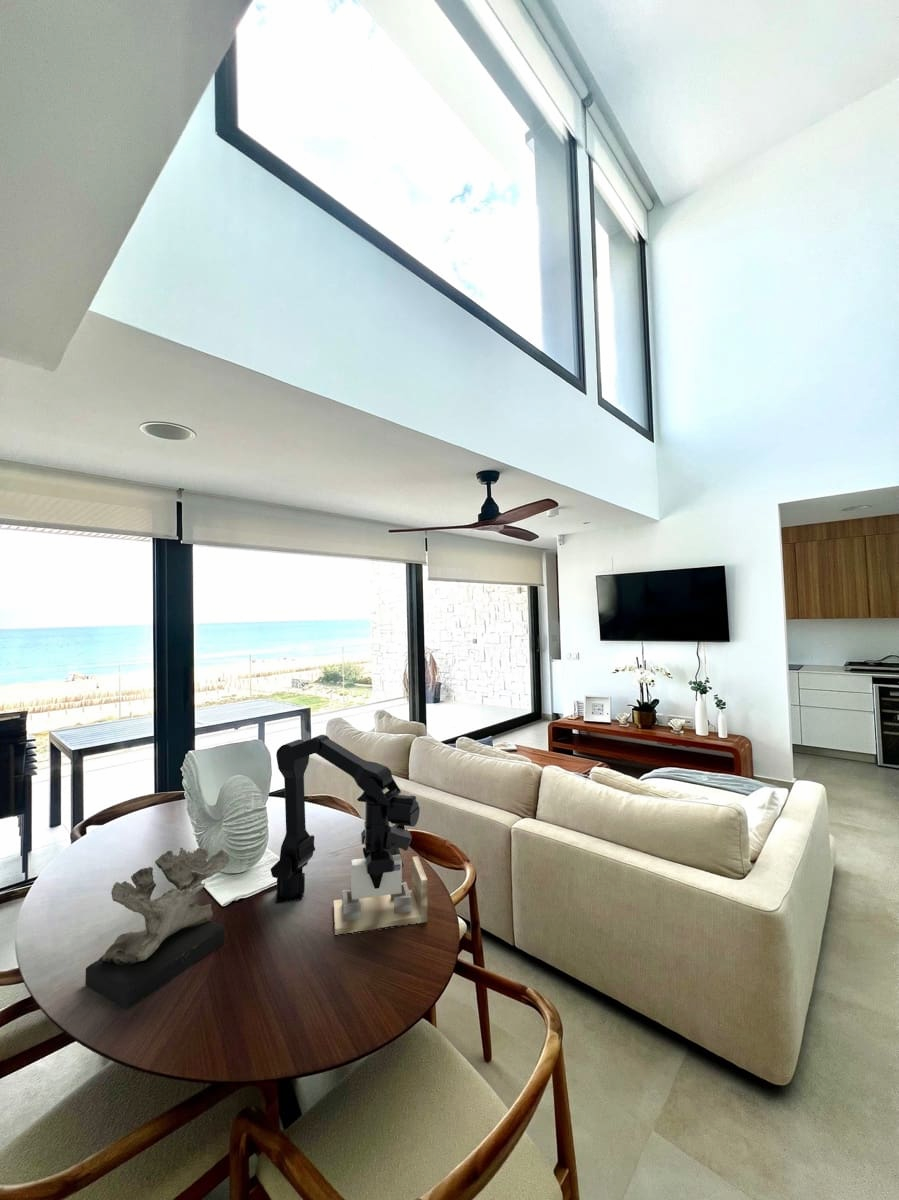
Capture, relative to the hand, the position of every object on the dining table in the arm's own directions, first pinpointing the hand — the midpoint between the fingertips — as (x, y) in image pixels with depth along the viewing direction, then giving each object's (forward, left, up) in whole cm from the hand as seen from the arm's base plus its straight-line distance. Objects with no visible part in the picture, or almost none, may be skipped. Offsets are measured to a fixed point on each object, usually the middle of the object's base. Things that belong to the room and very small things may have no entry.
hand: (376, 884), depth 122 cm
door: (0, 0, -2) cm, 2 cm away
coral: (-43, -7, -8) cm, 44 cm away
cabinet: (0, 0, -7) cm, 7 cm away
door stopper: (+5, +22, -7) cm, 24 cm away
